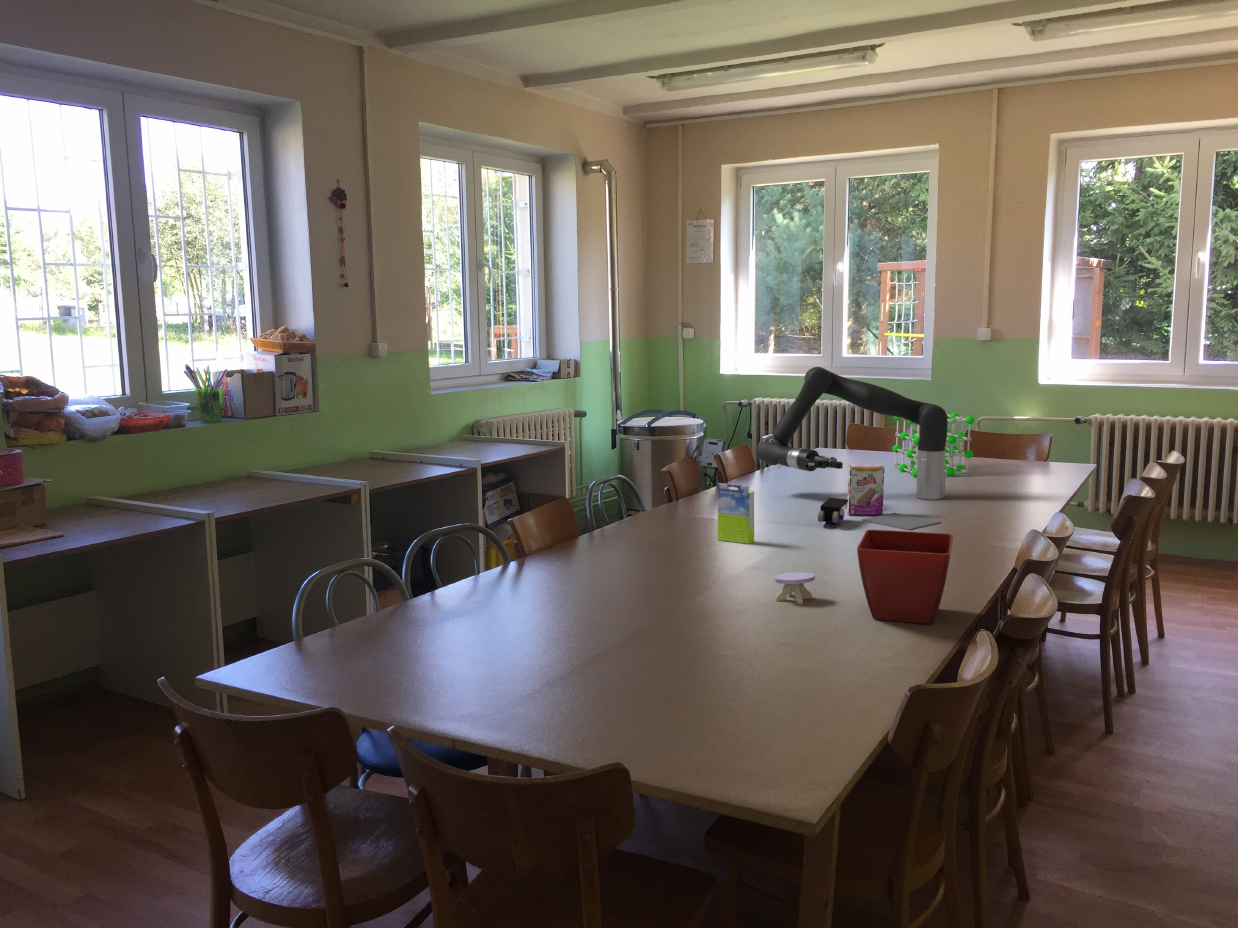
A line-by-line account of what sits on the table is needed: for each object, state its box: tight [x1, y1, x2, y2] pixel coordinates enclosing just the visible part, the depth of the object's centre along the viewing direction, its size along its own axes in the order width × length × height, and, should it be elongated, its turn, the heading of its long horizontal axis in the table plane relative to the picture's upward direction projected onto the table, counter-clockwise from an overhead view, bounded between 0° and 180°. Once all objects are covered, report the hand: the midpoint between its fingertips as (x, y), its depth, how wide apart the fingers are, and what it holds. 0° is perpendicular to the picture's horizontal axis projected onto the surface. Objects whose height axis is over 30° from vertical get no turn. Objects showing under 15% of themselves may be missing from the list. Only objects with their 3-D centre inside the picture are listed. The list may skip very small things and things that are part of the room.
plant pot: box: [856, 529, 954, 625], centre depth 216 cm, size 19×19×17 cm
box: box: [717, 482, 755, 545], centre depth 286 cm, size 11×4×17 cm, turn 58°
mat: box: [861, 512, 942, 531], centre depth 310 cm, size 16×18×1 cm
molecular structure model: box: [892, 412, 975, 478], centre depth 399 cm, size 24×25×24 cm
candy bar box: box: [846, 464, 885, 517], centre depth 320 cm, size 11×5×16 cm, turn 84°
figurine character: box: [817, 497, 848, 529], centre depth 307 cm, size 7×8×15 cm
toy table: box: [773, 571, 816, 605], centre depth 229 cm, size 10×9×6 cm
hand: (841, 465), depth 327 cm, fingers closed
